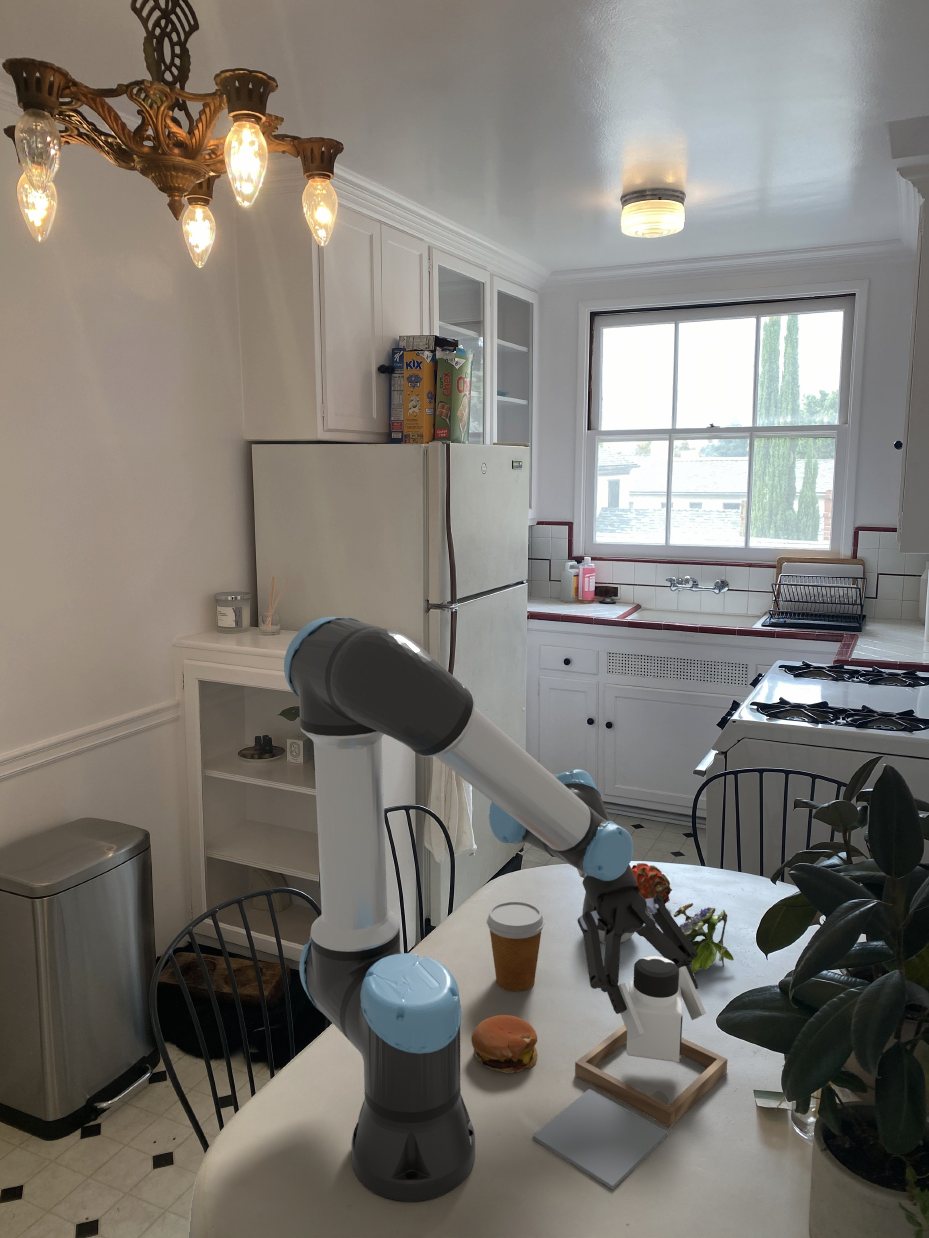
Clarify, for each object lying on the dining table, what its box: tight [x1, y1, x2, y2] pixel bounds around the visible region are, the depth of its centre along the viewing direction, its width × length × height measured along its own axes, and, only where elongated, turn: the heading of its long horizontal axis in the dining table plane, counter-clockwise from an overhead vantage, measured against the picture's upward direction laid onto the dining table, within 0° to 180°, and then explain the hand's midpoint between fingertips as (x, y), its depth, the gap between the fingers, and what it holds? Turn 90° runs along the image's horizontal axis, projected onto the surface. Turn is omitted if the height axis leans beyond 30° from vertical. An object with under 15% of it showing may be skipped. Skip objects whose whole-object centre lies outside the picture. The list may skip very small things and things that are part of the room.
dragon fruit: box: [631, 862, 673, 905], centre depth 176 cm, size 8×8×12 cm
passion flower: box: [673, 902, 734, 974], centre depth 155 cm, size 11×11×12 cm
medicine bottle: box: [626, 955, 683, 1063], centre depth 124 cm, size 7×7×12 cm
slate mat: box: [532, 1088, 668, 1190], centre depth 114 cm, size 12×12×1 cm
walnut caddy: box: [574, 1023, 728, 1128], centre depth 126 cm, size 15×15×2 cm
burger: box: [470, 1014, 538, 1074], centre depth 130 cm, size 10×9×5 cm
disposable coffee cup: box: [485, 900, 546, 992], centre depth 148 cm, size 10×10×12 cm
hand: (668, 1026), depth 122 cm, fingers closed on medicine bottle, 10 cm apart
